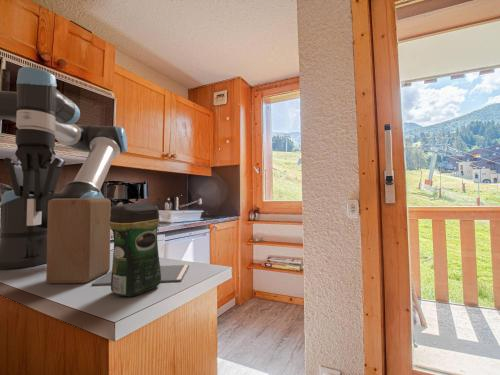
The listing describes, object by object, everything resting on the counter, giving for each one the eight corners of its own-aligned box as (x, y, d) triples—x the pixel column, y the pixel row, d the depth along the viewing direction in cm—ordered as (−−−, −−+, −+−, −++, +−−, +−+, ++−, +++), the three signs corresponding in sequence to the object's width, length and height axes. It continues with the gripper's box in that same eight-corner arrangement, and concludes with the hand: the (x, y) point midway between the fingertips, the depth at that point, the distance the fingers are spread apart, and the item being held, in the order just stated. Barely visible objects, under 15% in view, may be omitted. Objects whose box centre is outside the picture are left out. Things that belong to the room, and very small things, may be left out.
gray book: (116, 269, 69) (116, 267, 69) (189, 266, 71) (189, 264, 71) (91, 285, 56) (91, 283, 56) (181, 281, 58) (181, 279, 58)
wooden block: (86, 284, 57) (87, 198, 58) (43, 284, 57) (45, 198, 58) (111, 271, 67) (112, 198, 68) (75, 271, 67) (76, 198, 68)
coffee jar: (145, 277, 60) (144, 201, 59) (166, 284, 55) (166, 202, 55) (103, 292, 51) (102, 203, 51) (125, 302, 47) (124, 205, 47)
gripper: (-6, 126, 58) (-9, 227, 57) (53, 127, 59) (51, 226, 58) (20, 134, 65) (18, 224, 64) (72, 135, 67) (71, 222, 66)
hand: (34, 224), depth 61 cm, fingers closed
